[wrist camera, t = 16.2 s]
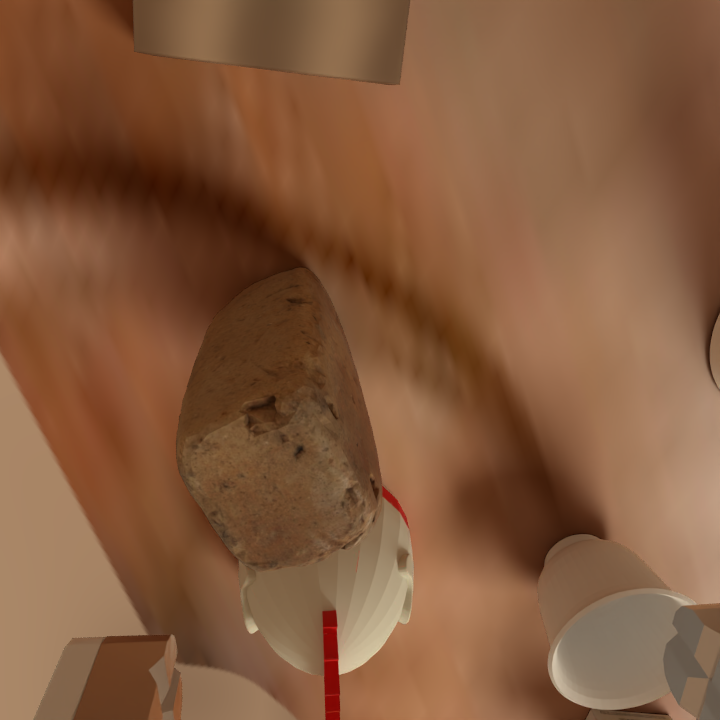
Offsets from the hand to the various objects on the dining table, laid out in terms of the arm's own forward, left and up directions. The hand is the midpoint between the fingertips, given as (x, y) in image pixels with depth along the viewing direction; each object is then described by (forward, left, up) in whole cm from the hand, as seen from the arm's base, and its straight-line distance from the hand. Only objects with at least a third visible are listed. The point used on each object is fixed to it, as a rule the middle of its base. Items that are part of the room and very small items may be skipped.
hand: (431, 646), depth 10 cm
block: (+3, +8, -34) cm, 35 cm away
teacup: (-22, +30, -34) cm, 51 cm away
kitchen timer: (+1, +26, -34) cm, 43 cm away
